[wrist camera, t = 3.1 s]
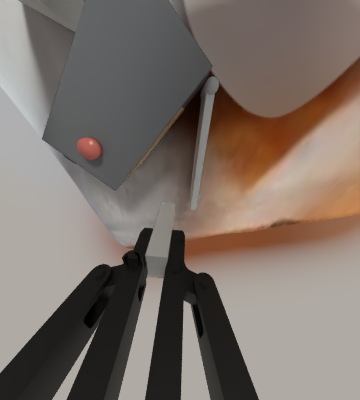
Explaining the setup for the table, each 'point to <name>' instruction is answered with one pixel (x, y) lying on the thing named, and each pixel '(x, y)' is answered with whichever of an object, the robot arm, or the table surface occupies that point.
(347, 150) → the table surface
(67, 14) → the electronic device
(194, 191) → the grey thin flat plate
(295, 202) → the table surface
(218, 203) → the table surface
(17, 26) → the table surface
